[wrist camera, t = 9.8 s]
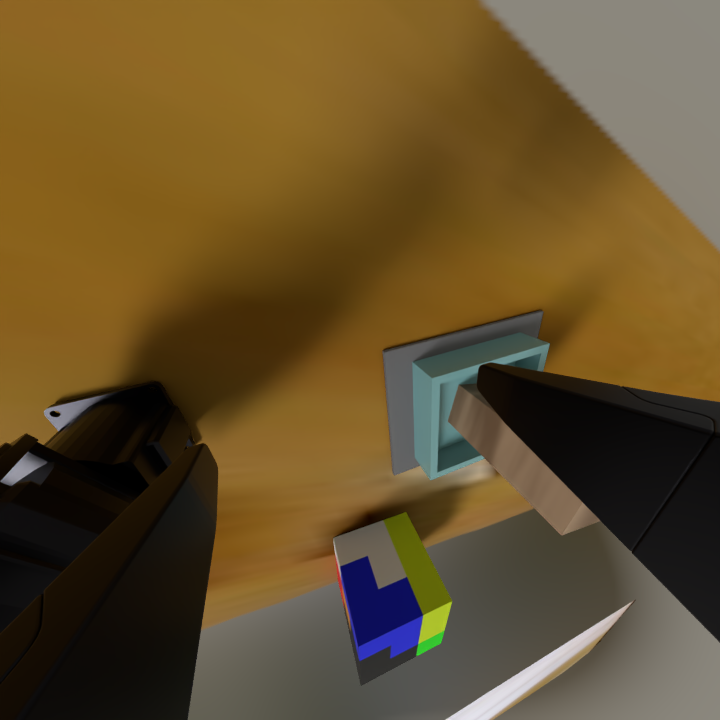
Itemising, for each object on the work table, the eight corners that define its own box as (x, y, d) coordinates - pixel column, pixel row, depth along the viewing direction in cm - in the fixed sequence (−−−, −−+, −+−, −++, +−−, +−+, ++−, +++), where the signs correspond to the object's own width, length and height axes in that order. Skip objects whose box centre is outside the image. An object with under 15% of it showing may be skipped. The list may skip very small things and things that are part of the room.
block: (447, 421, 28) (561, 535, 17) (458, 384, 26) (593, 486, 16) (480, 417, 30) (603, 519, 19) (492, 382, 28) (636, 473, 17)
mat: (392, 472, 30) (394, 475, 30) (382, 350, 23) (384, 352, 23) (515, 426, 35) (518, 428, 34) (539, 310, 27) (543, 311, 27)
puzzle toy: (333, 537, 32) (358, 647, 23) (405, 511, 35) (452, 601, 26) (338, 580, 36) (360, 685, 28) (402, 554, 39) (441, 643, 31)
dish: (414, 457, 30) (430, 480, 27) (412, 361, 24) (432, 378, 21) (503, 424, 33) (525, 442, 30) (520, 332, 27) (549, 343, 24)
